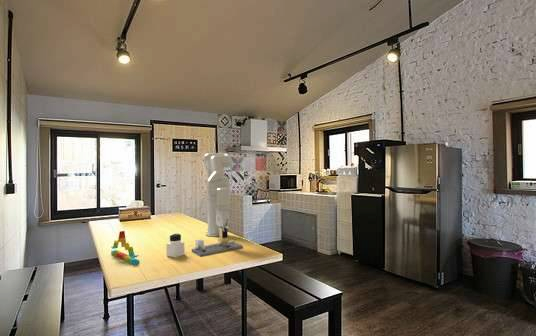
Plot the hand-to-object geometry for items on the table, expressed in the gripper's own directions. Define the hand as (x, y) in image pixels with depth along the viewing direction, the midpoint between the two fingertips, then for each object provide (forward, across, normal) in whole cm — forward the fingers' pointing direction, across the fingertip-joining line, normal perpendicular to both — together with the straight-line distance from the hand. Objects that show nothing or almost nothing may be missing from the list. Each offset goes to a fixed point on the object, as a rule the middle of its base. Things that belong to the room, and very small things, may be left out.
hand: (223, 236), depth 188 cm
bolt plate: (+6, +4, -6) cm, 9 cm away
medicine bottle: (+7, -2, -30) cm, 31 cm away
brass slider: (+4, +2, 0) cm, 5 cm away
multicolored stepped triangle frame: (+7, -14, -54) cm, 56 cm away
